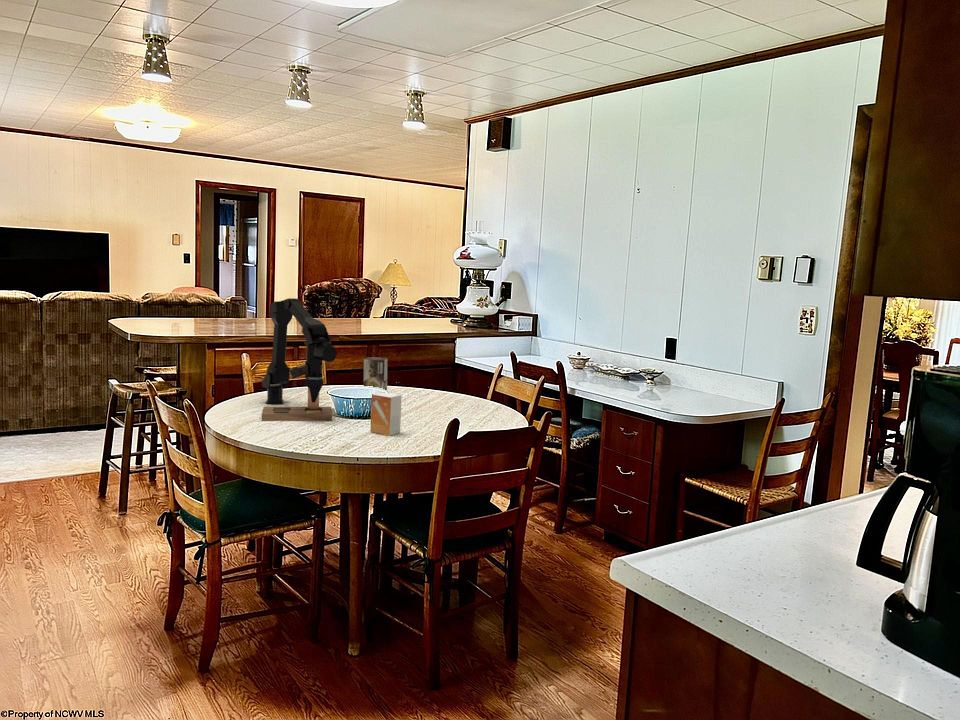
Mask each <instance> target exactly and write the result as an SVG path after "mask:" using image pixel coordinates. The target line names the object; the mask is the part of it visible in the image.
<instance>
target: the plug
mask: <svg viewBox="0 0 960 720" xmlns="http://www.w3.org/2000/svg"><path fill="white" fill-rule="evenodd" d="M307 407H308V408H309V409H318V408H319V407H320V393H319V394H318V397H317V399H316V401H315V402H312V400H311V394H310V389H309V388H308V387H307Z"/></svg>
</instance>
